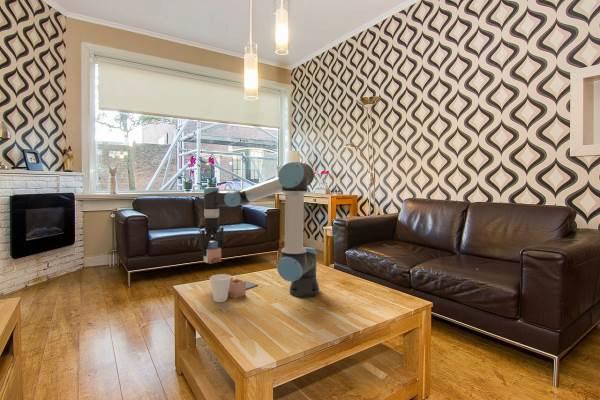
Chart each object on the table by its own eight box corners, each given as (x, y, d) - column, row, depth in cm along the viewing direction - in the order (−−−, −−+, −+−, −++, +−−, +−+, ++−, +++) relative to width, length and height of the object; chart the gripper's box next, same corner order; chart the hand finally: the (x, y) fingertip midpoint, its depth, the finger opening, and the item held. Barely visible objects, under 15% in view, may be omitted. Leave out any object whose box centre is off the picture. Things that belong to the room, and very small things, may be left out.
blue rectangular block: (213, 255, 169) (212, 240, 169) (217, 256, 167) (217, 241, 166) (206, 256, 166) (206, 241, 166) (211, 257, 163) (211, 242, 163)
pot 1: (213, 259, 171) (213, 246, 171) (221, 261, 167) (221, 247, 167) (203, 261, 166) (203, 248, 165) (210, 263, 162) (210, 249, 161)
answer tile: (245, 281, 177) (245, 280, 177) (258, 285, 171) (258, 284, 171) (231, 286, 169) (231, 285, 169) (244, 290, 163) (244, 289, 163)
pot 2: (236, 292, 160) (236, 278, 160) (245, 295, 156) (245, 281, 156) (226, 295, 155) (226, 281, 155) (235, 298, 151) (235, 284, 151)
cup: (225, 305, 143) (225, 281, 143) (205, 303, 145) (205, 279, 145) (234, 297, 153) (234, 274, 152) (215, 295, 155) (215, 273, 154)
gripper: (222, 215, 175) (222, 256, 176) (190, 218, 160) (191, 263, 161) (231, 216, 171) (231, 258, 172) (199, 219, 155) (200, 265, 156)
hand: (212, 260), depth 166 cm, fingers closed on pot 1, 6 cm apart
